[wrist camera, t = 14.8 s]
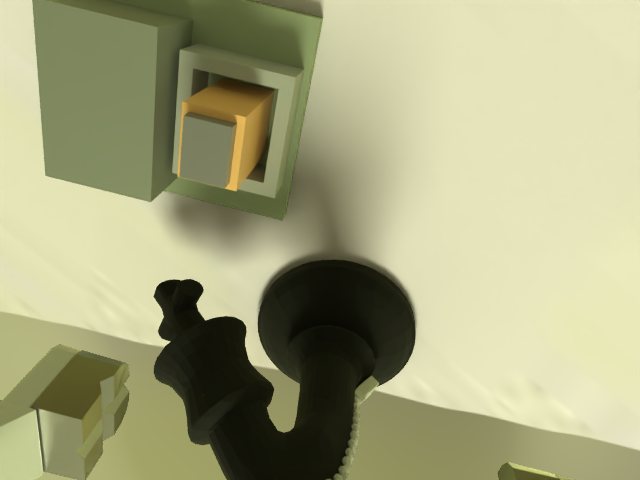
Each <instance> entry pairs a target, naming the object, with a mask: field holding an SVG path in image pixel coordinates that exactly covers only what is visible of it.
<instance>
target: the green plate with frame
mask: <svg viewBox="0 0 640 480" xmlns="http://www.w3.org/2000/svg"><path fill="white" fill-rule="evenodd" d="M32 1H33V14H34V27H35V41H36V54H37V68H38V81H39V94H40V108H41V121H42V135H43V148H44V161H45V175H46V176H49V177H53V178H57V179H61V180H65V181H69V182H73V183H77V184H81V185H85V186H89V187H93V188H97V189H101V190H105V191H109V192H113V193H117V194H121V195H125V196H129V197H133V198H137V199H141V200H145V201H149V202H151V201H153V200H154V199H155V198H156V197H157V196H158V195H159V194H160V193H161V192H162V191H167V192H171V193H175V194H179V195H183V196H187V197H191V198H195V199H199V200H203V201H207V202H211V203H215V204H219V205H223V206H227V207H231V208H235V209H239V210H243V211H247V212H251V213H255V214H259V215H263V216H267V217H271V218H275V219H279V220H283V219H284V216H285V214H286V209H287V204H288V198H289V193H290V188H291V183H292V177H293V172H294V167H295V162H296V157H297V151H298V146H299V141H300V136H301V130H302V125H303V120H304V115H305V109H306V104H307V99H308V94H309V89H310V83H311V78H312V73H313V68H314V62H315V57H316V52H317V47H318V42H319V36H320V31H321V26H322V21H323V18H320V17H316V16H312V15H308V14H304V13H300V12H295V11H291V10H287V9H283V8H279V7H275V6H270V5H266V4H262V3H258V2H254V1H250V0H32ZM223 78H224V79H228V80H232V81H236V82H241V83H245V84H249V85H253V86H257V87H261V88H265V89H269V90H273V91H275V92H274V98H273V104H272V111H271V117H270V123H269V130H268V136H267V142H266V149H265V154H264V155H263V156H262V158H261V159H260V160H259V162H258V163H257V164H256V166H255V167H254V168H253V170H252V171H251V172H250V174H249V175H248V176H247V178H246V179H245V180H244V182H243V183H242V184H241V186H240V187H239V188H238V190H237V191H233V190H229V189H225V188H221V187H217V186H213V185H209V184H205V183H201V182H197V181H192V180H188V179H184V178H180V177H177V175H178V160H179V146H180V131H181V116H182V102H183V101H184V100H186V99H188V98H190V97H191V96H193V95H195V94H197V93H198V92H200V91H202V90H203V89H205V88H207V87H209V86H210V85H212V84H214V83H216V82H217V81H219V80H221V79H223Z"/></svg>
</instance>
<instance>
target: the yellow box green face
mask: <svg viewBox="0 0 640 480" xmlns="http://www.w3.org/2000/svg"><path fill="white" fill-rule="evenodd" d="M274 92H275V91H273V90H269V89H265V88H261V87H257V86H253V85H249V84H245V83H241V82H236V81H232V80H228V79H224V78H223V79H221V80H219V81H217V82H216V83H214V84H212V85H210V86H209V87H207V88H205V89H203V90H202V91H200V92H198V93H197V94H195V95H193V96H191V97H190V98H188V99H186V100H184V101H183V102H182V116H181V131H180V146H179V160H178V175H177V177H180V178H184V179H188V180H192V181H197V182H201V183H205V184H209V185H213V186H217V187H221V188H225V189H229V190H233V191H237V190H238V188H239V187H240V186H241V184H242V183H243V182H244V180H245V179H246V178H247V176H248V175H249V174H250V172H251V171H252V170H253V168H254V167H255V166H256V164H257V163H258V162H259V160H260V159H261V158H262V156H263V155H264V154H265V149H266V142H267V136H268V130H269V123H270V117H271V111H272V104H273V98H274Z"/></svg>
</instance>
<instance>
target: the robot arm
mask: <svg viewBox="0 0 640 480" xmlns="http://www.w3.org/2000/svg"><path fill="white" fill-rule="evenodd" d="M128 378H129V365H128V364H127V363H124V362H121V361H117V360H114V359H110V358H107V357H103V356H100V355H97V354H93V353H90V352H86V351H83V350H78V349H75V348H71V347H67V346H64V345H60V344H59V345H57V346H55V347H53V348H52V349H51V350H50V351H49V352H48V353H47V354H46V355H45V356H44V357H43V358H42V359H41V360H40V361H39V362H38V363H37V364H36V366H35V367H34V368H33V369H32V370H31V371H30V372H29V373H28V374H27V375H26V376H25V377H24V378H23V379H22V380H21V381H20V382H19V383H18V384H17V386H16V387H15V388H14V389H13V390H12V391H11V392H10V393H9V394H8V395H7V396H6V397H5V398H4V399H3V400H0V480H35V479H37V478H38V477H40V476H41V475H43V471H44V472H48V473H52V474H56V475H60V476H64V477H69V478H73V479H77V480H86V479H87V477H88V476H89V474H90V472H91V471H92V469H93V468H94V466H95V464H96V463H97V461H98V459H99V458H100V457H101V455H102V453H103V441H104V440H106V439H107V438H109V437H111V436H113V435H114V434H115V433H116V431H117V429H118V428H119V426H120V424H121V422H122V420H123V417H124V415H125V413H126V410H127V406H128V401H129V390H128V389H127V387H126V386H125V385H124V383H125V382H126V380H127V379H128ZM498 478H499V480H575V479H571V478H567V477H563V476H559V475H554V474H552V473H549V472H545V471H540V470H537V469H533V468H529V467H525V466H520V465H516V464H513V463H509V462H507V463H505V464H504V465H502V467H501V468H500V470H499V471H498Z"/></svg>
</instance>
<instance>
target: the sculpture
mask: <svg viewBox="0 0 640 480" xmlns="http://www.w3.org/2000/svg"><path fill="white" fill-rule="evenodd" d="M203 290H204V289H203V287H202V285H201V284H200V283H199V282H197V281H195V280H192V279H186V280H182V281H180V280H167V281H164V282H162V283H160V284H159V285H158V286H157V288H156V291H155V294H154V298H155V299H156V301H157V302H158V304H159V305H160V307H161V308H162V311H163V315H164V318H163V320H162V323H161V325H160V327H159V330H158V332H159V335H160V336H161V338H162V339H165V340H168V341H171V342H170V343H169V344H168V345H166V346H165V348H164V349H163V350H162V352H161V353H160V355H159V356H158V357H157V360H156V362H155V365H154V374H155V377H156V379H157V380H158V381H160V382H161V383H164V384H166V385H169V386H170V387H172V388H173V389H174V390H175V391H176V393H177V394H178V395H179V396H180V397H181V398H182V399H183V402H184V404H185V408H186V415H187V425H188V434H189V438H190V440H191V442H193V443H195V444H200V445H206V444H210V445H211V447H212V450H213V452H214V454H215V456H216V459H217V461H218V463H219V465H220V467H221V469H222V471H223V474H224V475H225V477H226V479H227V480H346V479H347V478H348V471H349V470H350V468H351V462H352V461H353V458H354V453H355V451H356V449H357V445H356V444H357V443H358V435H359V425H360V422H359V418H360V414H359V404H360V403H362V402H363V401H364V400H366V399H367V397H369V396H370V394H371V393H372V392H373V391H374V390H375V388H376V387H378V386H380V385H382V384H384V383H386V382H387V381H389V380H391V379H392V378H393V377H394V376H396V375H397V374H398V373H399V372H400V371H401V370H402V369H403V368H404V366H405V365H406V363H407V362H408V360H409V358H410V356H411V354H412V352H413V348H414V344H415V321H414V316H413V312H412V309H411V307H410V304H409V302H408V301H407V299H406V297H405V296H404V294H403V293H402V292H401V290H400V289H399V288H398V287H397V286H396V285H395V284H394V283H393V282H392V281H391V280H389V279H388V278H387V277H385V276H384V275H382V274H381V273H379V272H377V271H376V270H374V269H371V268H369V267H367V266H364V265H360V264H357V263H353V262H348V261H343V260H321V261H315V262H310V263H307V264H303V265H301V266H298V267H296V268H294V269H292V270H290V271H289V272H287V273H285V274H284V275H283V276H281V277H280V278H279V279H278V280H277V281H276V282H275V283H274V284H273V285H272V286H271V288H270V289H269V291H268V292H267V294H266V296H265V298H264V301H263V303H262V305H261V308H260V312H259V316H258V333H259V337H260V341H261V344H262V346H263V348H264V350H265V352H266V354H267V356H268V357H269V358H270V360H271V361H272V362H273V363H274V365H275V366H276V367H277V368H278V369H279V370H281V371H282V372H283V373H284V374H286V375H287V376H288V377H290V378H291V379H293V380H294V381H296V382H298V383H299V384H300V393H299V402H298V410H297V417H296V421H295V426H294V428H293V429H292V430H291V431H289V432H285V433H283V432H280V431H278V430H277V429H276V427H275V426H274V424H273V423H272V421H271V420H270V418H269V415H268V411H267V407H268V405H269V404H270V402H271V400H272V396H273V392H274V388H273V386H272V384H271V382H269V381H268V380H267V379H266V378H265V377H263V376H262V375H261V374H260V373H259V372H258V371H257V370H256V369H255V368H254V367H253V366H252V365H251V363H250V361H249V360H248V356H247V352H246V347H245V337H246V326H245V324H244V323H243V321H241V320H239V319H237V318H235V317H228V316H224V317H216V318H212V319H209V320H206V321H205V320H204V318H203V317H202V316H201V314H200V313H199V311H198V308H197V304H196V303H197V302H198V300H199V298H200V296H201V295H202V293H203Z"/></svg>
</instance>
